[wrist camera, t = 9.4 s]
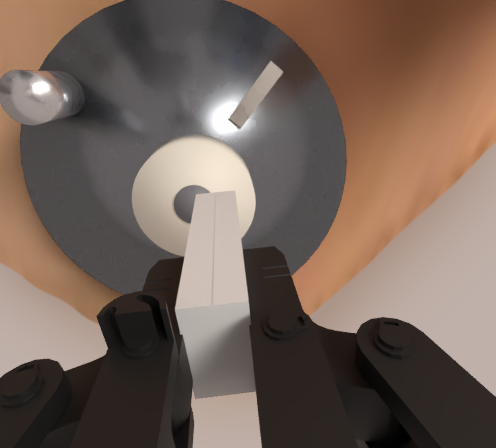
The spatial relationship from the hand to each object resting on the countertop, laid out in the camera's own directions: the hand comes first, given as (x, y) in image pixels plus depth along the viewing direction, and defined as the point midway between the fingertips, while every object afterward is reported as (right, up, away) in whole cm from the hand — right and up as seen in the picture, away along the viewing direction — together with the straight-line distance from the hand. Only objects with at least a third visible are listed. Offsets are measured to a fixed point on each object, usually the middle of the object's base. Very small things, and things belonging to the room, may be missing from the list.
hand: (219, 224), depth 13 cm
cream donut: (-3, +3, +14) cm, 15 cm away
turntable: (-4, +4, +15) cm, 16 cm away
